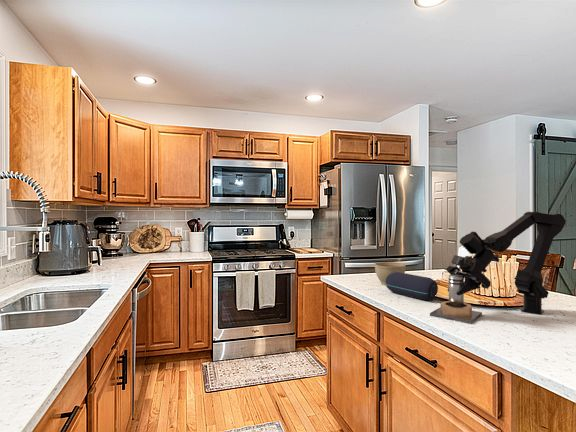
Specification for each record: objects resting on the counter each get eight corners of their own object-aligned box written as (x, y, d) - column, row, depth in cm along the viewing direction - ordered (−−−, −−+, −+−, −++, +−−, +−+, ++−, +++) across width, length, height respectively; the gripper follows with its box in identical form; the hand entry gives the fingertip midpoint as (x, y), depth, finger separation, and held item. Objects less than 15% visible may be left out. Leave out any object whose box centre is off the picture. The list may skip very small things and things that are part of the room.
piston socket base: (443, 308, 140) (443, 298, 139) (482, 314, 130) (482, 304, 130) (429, 315, 129) (429, 305, 129) (470, 323, 120) (470, 312, 120)
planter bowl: (368, 282, 192) (368, 262, 192) (394, 280, 197) (394, 261, 197) (385, 288, 177) (385, 267, 177) (412, 286, 181) (412, 265, 181)
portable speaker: (442, 300, 152) (442, 277, 152) (427, 303, 147) (427, 280, 147) (397, 289, 173) (397, 270, 173) (383, 292, 168) (383, 271, 168)
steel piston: (456, 307, 133) (455, 274, 133) (467, 311, 128) (467, 276, 128) (445, 309, 131) (445, 275, 131) (456, 313, 126) (456, 277, 126)
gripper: (450, 245, 139) (425, 274, 138) (482, 250, 121) (454, 283, 119) (468, 264, 140) (443, 292, 139) (503, 272, 122) (475, 305, 120)
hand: (452, 293), depth 129 cm, fingers closed on steel piston, 5 cm apart
